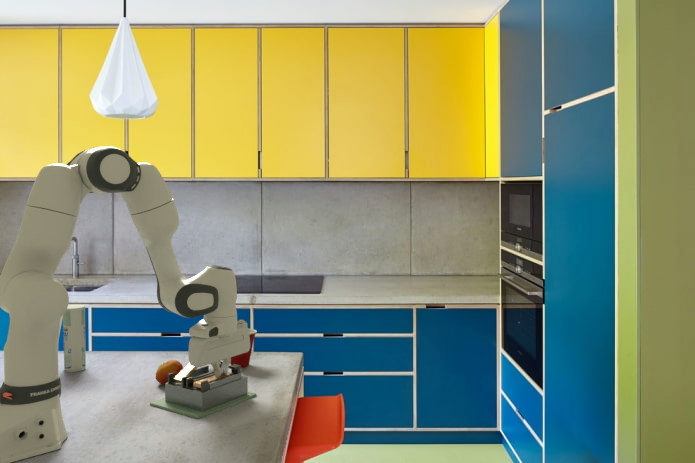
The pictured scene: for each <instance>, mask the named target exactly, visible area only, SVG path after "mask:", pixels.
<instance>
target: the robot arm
mask: <svg viewBox="0 0 695 463" xmlns="http://www.w3.org/2000/svg"><path fill="white" fill-rule="evenodd" d="M160 172H161V171H159V169H158V168H157V167H156V166H155V165H154V164H152V163H149V162H136V161H135V159H133V158H132V157H131V155H129V154H128V153H127V152H126V151H124V150H123V149H120V148H118V147H115V146H108V145H107V146H94V147H91V148H88V149H85V150H82V151H80V152H79V153H77V154H76V155H75V156H74V157H72V159H71V160H69V162H67V164H64V163H51V164H50V163H49V164H47V165H45V166H42V168H41V169H40V170H39V173H38V174H37V176H36V178H35V180H34V183H33V184H32V187H31V190H30V192H29V194H28V198H27V202H26V203H25V208H24V211H23V215H22V219H21V223H20V227H19V230H18V233H17V237H16V239H15V241H14V245H13V246H12V249H11V251H10V253H9V255H8V257H7V259H6V262H5V264H4V266H3V269H2V270H1V273H0V308H1V310H2V311H4V312H5V313H7V314H9V326H8V333H7V339H6V342H5V344H4V347H3V372H4V373H3V376H4V381H3V382H2V385H1V386H0V463H14V462H18V461H20V460H24V459H28V458H32V457H35V456H39V455H42V454H43V455H44V454H46V453H49V452H53V451H57V450H60V449H61V448H62V444H63V442H64V441H66V439H67V438H68V437H69V436H68V435H69V434H68V431H67V429H66V426H65V423H64V417H63V413H62V406H61V394H62V381H61V380H62V378H61V375H60V374H59V340H60V335H61V334H60V333H61V328H62V325H63V314H64V313H65V311H66V309H67V307H68V306H69V302H70V299H69V298H70V297H69V293H68V290H67V289H66V288H65V286H64V285H63V283H62V282H61V281H59V280H58V279H57V278H56V277H55V274H56V272H57V270H58V267H59V266H60V264H61V262H62V260H63V259H64V257H65V256H66V254H68V252H69V251H70V248H71V243H72V241H73V236H74V232H75V229H76V224H77V221H78V216H79V213H80V210H81V208H80V207H81V205H82V202H83V200H84V199H85V197H86V196H87V195H88V194H93V193H94V194H97V195H98V194H100V195H105V194H118V195H120V196H121V197H122V199H123V201H124V202H125V204H126V206H127V209H128V212H129V214H130V217H131V219H132V222H133V223H134V226H135V229H137V231H138V234H139V235H140V238H141V239H142V242H143V244H144V246H145V248H146V252H147V254H148V257H149V260H150V263H151V265H152V269H153V271H154V274H155V277H156V278H155V279H156V297H157V301H158V304H159V305H160V306H161V308H162V309H163V310H165V311H167V312H168V313H173V314H177V315H178V316H180V317H183V318H186V319H187V318H188V319H195V318H199V317H202V316H203V318H202V319H201V320H199V321H198V322H197V323H195V324H194V325H192V326H191V327H189V330H188V334H189V336H190V337H191V338H190V339H189V342H188V362H189V363H190V364H191V365H192V366H195V367H198V368H200V367H204V366H209V365H211V366H212V369H213V368H214V370H215V376H217V377H220V376H223V375H226V374H228V372H229V368H228V367H229V366H230V365H231V364H230V362H231V357H233V356H236V355H240V354H243V353H246V352H248V351H249V349H250V337H249V331H248V329H249V328H248V322H247V321H246V320H244V319H239V320H238V310H237V309H236V308H237V307H236V303H237V298H238V292H237V289H238V288H237V279H236V275H235V272H234V270H233V269H232V268H229V267H226V266H222V265H215V264H212V265H211V264H209V265H207V266H205V268H204V269H203V270H201V271H200V272H199V273H197V274H196V275H194V276H191V277H190V278H187V277H186V276H185V275H184V274H183V273H182V272H181V270H180V268H179V265H178V264H179V263H178V261H177V258H176V256H175V252H174V250H173V246H172V239H173V237H174V235H175V234H176V232H177V230H178V228H179V225H180V218H179V212H178V209H177V206H176V203H175V199H174V198H173V195H172V192H171V190H170V189H169V187H168V184H167V183H166V181H165V178H164V177H163V176H162V174H161V173H160ZM221 361H222V362H223V363H222V366H221V368H220V366H219V365H220V364H221ZM189 363H188V364H189Z"/></svg>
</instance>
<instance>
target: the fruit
mask: <svg viewBox="0 0 695 463" xmlns="http://www.w3.org/2000/svg"><path fill="white" fill-rule="evenodd" d="M183 369H184V366H183V364H182V363H181V362H180V361H179V360H176V359H175V360H174V359H170V360H167V361H166V362H163V363H161V364H160V365H159V366H158V367H157V369H156V373H155V379H156V381H157V382H158V383H159V384H160V385H161V386H164V387H165V383H168V374H170V373H173V372H174V373H175V375H178V374H179V373H180V372H181V371H182V370H183Z"/></svg>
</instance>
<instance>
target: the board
mask: <svg viewBox="0 0 695 463" xmlns="http://www.w3.org/2000/svg"><path fill="white" fill-rule="evenodd" d="M254 397H257V393H255V392H252V391H251V392H250V391H248V395H245V396H243V397H240V398H237V399H235V400H232V401H230V402H227V403H225V404H222V405H219V406H217V407H214V408H212V409H209V410H207V411H204V412H200V411H197V410H193V409H190V408H186V407H183V406H179V405H175V404H172V403H168V402H165V397H164V398H160V399H158V400H154V401H152V402H149V405H150V406H152V407H155V408H159V409H162V410H166V411H169V412H173V413H176V414H180V415H183V416H186V417H190V418H193V419H196V420H199V419H202V418H203V417H207V416H209V415H212V414H215V413H216V412H219V411H221V410H224V409H227V408H229V407H232V406H234V405H236V404H239V403H243V402H244V401H247V400H250V399H251V398H254Z"/></svg>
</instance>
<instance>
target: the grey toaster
mask: <svg viewBox="0 0 695 463" xmlns="http://www.w3.org/2000/svg"><path fill="white" fill-rule="evenodd" d="M222 363H223V361H222V360H221V364H220V365H219V366H220V368H221V366H222ZM228 369H231V373H233V375H232V376H229V377H226V378H223V379H220V380H217V381H214V382H211V383H208V380H206V381H203V382H201V388H199V387H195V386H193V382H196V381H199V380H202V379H205V378H208V377H211V376H214V375H215V370H214V368H213V367H212V368H209V365H205V366H202V367H198V368H197V369H196V370H195V371H194V372H193V373H192V374H191V375H190V376H185V377H182V383H179V382H175V381H174V378H175V377H176V376H177V375H175V373H174V372H173V373H170V374H168V383H165V386H164V395H165V396H164V398H165V402H168V403H172V404H175V405H179V406H183V407H186V408H190V409H193V410H197V411H200V412H204V411H207V410H209V409H212V408H214V407H217V406H219V405H222V404H225V403H227V402H230V401H232V400H235V399H237V398H240V397H243V396H245V395H248V392H249V390H248V387H249V386H248V383H249V382H248V379H249V378H248V376H245V375H242V368H241V365H236V364H233V365H231V364H229V367H228Z"/></svg>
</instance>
